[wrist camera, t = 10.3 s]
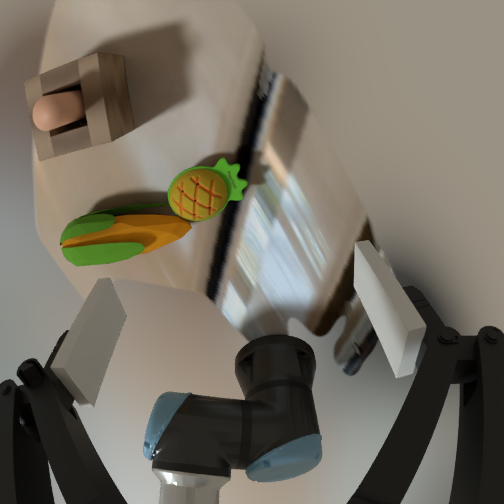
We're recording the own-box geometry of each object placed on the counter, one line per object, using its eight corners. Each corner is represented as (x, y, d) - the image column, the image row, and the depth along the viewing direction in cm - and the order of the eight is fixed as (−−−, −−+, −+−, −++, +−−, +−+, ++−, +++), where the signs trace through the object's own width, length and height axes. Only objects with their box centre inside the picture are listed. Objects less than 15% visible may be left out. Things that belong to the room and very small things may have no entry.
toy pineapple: (162, 177, 40) (152, 191, 35) (232, 144, 38) (230, 153, 34) (187, 220, 43) (180, 238, 39) (254, 190, 42) (256, 206, 37)
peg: (109, 110, 35) (63, 125, 25) (85, 117, 35) (36, 135, 25) (104, 84, 33) (57, 90, 23) (81, 92, 33) (29, 102, 23)
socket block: (134, 129, 37) (111, 141, 30) (70, 145, 37) (39, 161, 30) (123, 55, 31) (97, 52, 25) (57, 77, 32) (24, 82, 25)
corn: (40, 238, 35) (179, 211, 34) (63, 211, 42) (188, 184, 41) (62, 282, 39) (194, 265, 39) (80, 251, 46) (200, 232, 45)
